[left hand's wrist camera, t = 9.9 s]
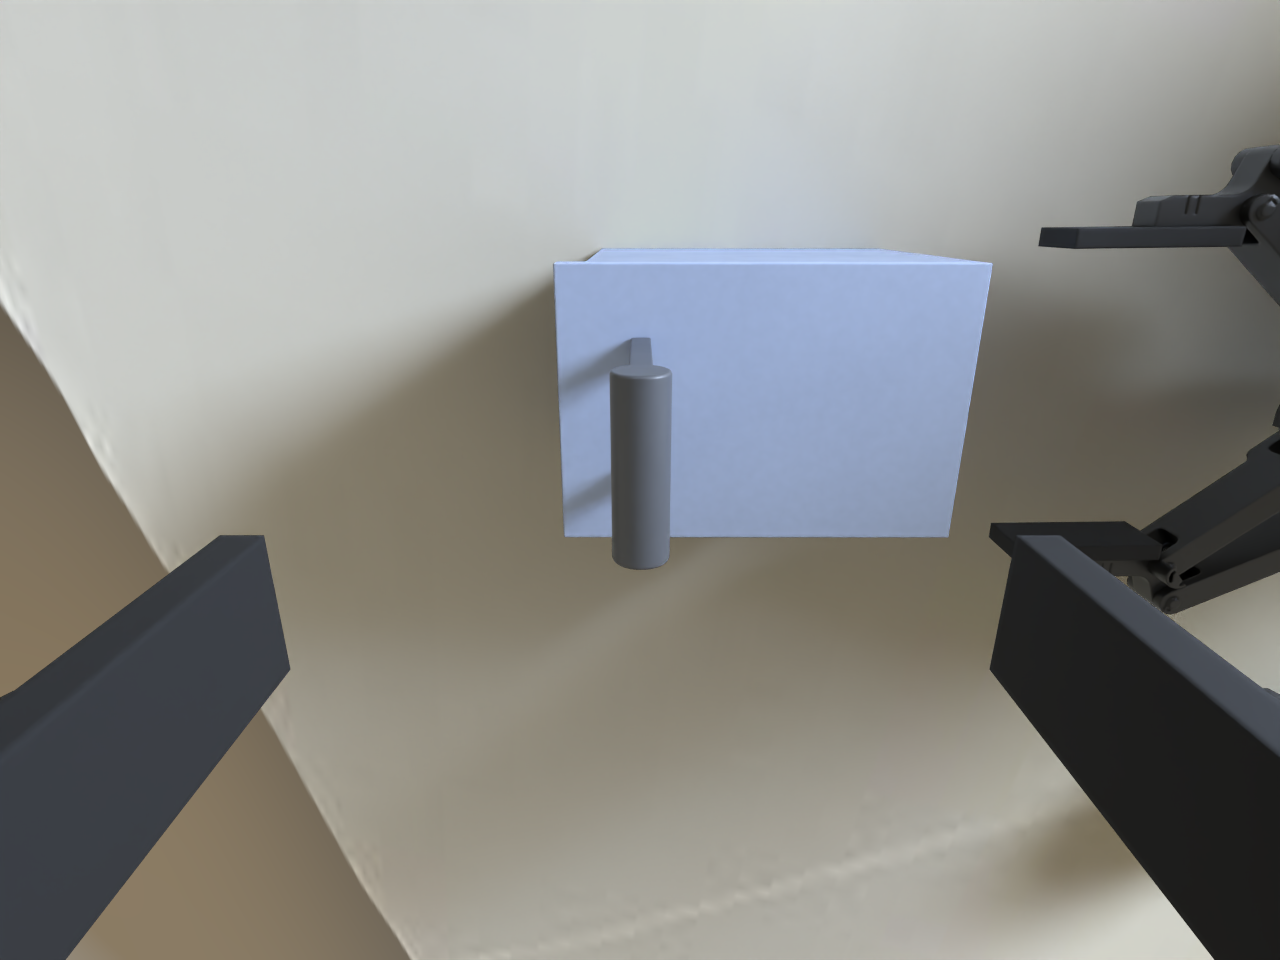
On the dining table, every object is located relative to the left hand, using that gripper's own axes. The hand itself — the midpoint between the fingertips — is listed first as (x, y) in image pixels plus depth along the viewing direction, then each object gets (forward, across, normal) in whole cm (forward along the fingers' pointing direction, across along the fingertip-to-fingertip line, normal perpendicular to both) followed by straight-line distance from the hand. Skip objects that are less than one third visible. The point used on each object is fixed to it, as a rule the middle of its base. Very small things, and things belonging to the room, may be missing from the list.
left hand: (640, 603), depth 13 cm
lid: (+15, +4, 0) cm, 16 cm away
